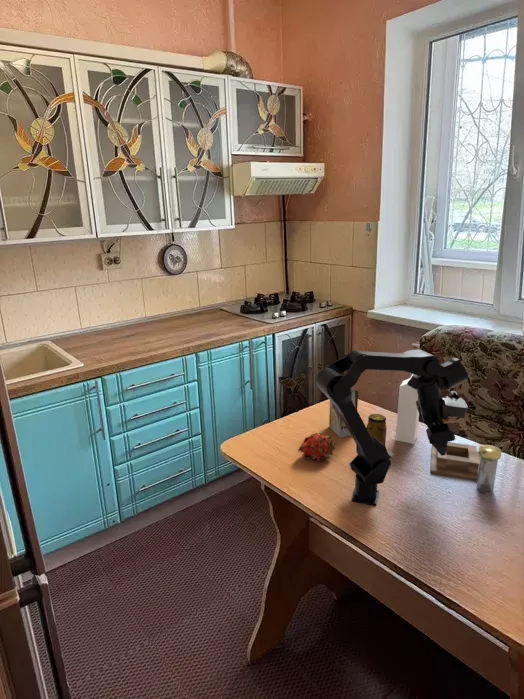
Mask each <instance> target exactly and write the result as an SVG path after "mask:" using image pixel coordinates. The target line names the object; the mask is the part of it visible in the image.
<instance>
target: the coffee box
mask: <svg viewBox="0 0 524 699" xmlns="http://www.w3.org/2000/svg"><path fill="white" fill-rule="evenodd" d="M351 391H352V402H353V404H354V406H355V408H356V409H357V410H358V405H359V402H358V401H359V390H358V389H357V388H356V387H354V386H353V387H351ZM328 418H329V419H328V420H329V422H328V427H329V428H330V429H331V430H332V431H333V432H334V433H335V434H336V435H337V436H338V437H339V438H345V437H352V435H351V434H350V432H349V430H348V428H347V426H346V425H345V423H344V421H343V419H342V417H341V416H340V414H339V412H338V410H337V409H336V407H335V405H334V404H333V403H332V402H331V400H330V399H329V417H328Z"/></svg>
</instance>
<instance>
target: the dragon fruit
mask: <svg viewBox="0 0 524 699" xmlns="http://www.w3.org/2000/svg"><path fill="white" fill-rule="evenodd" d="M335 444H336V442H335V440H334V438H332V436H329V435H327V434H324V433H322V432H319V434H318V433H316V432H315V433H312V434H311V435H310V436H306V437H305V438H304V440H303V442H302V443H301V445H300V446H299V448H298V449H297V451H298V453H299V452H301V453H303V454H301V457H303V458H305V459H311V460H314V459H316V461H317V462H320V461H321V460H323V459H326V458H329V457H330V455H332V456H333V455H334V452H333V451H335V450H336V449H335Z"/></svg>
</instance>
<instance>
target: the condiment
mask: <svg viewBox="0 0 524 699" xmlns="http://www.w3.org/2000/svg"><path fill="white" fill-rule="evenodd" d="M367 420H368V421H367V424H366V428H367V430H368V432H369V434H370V435H371V437H373V436H374V437H375V438H376V439H377V440H379V441H380V442H381V443H382V444H383V445H384V446H385V447H386V442H387V441H386V440H387V418H386V416H385V415H383V414H380V413H371V414H370V415H368V419H367ZM387 452H388V454H389V455H390V456H391V457H393V456H395V455H396V453H393V452H392V451H389V450H387Z"/></svg>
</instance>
